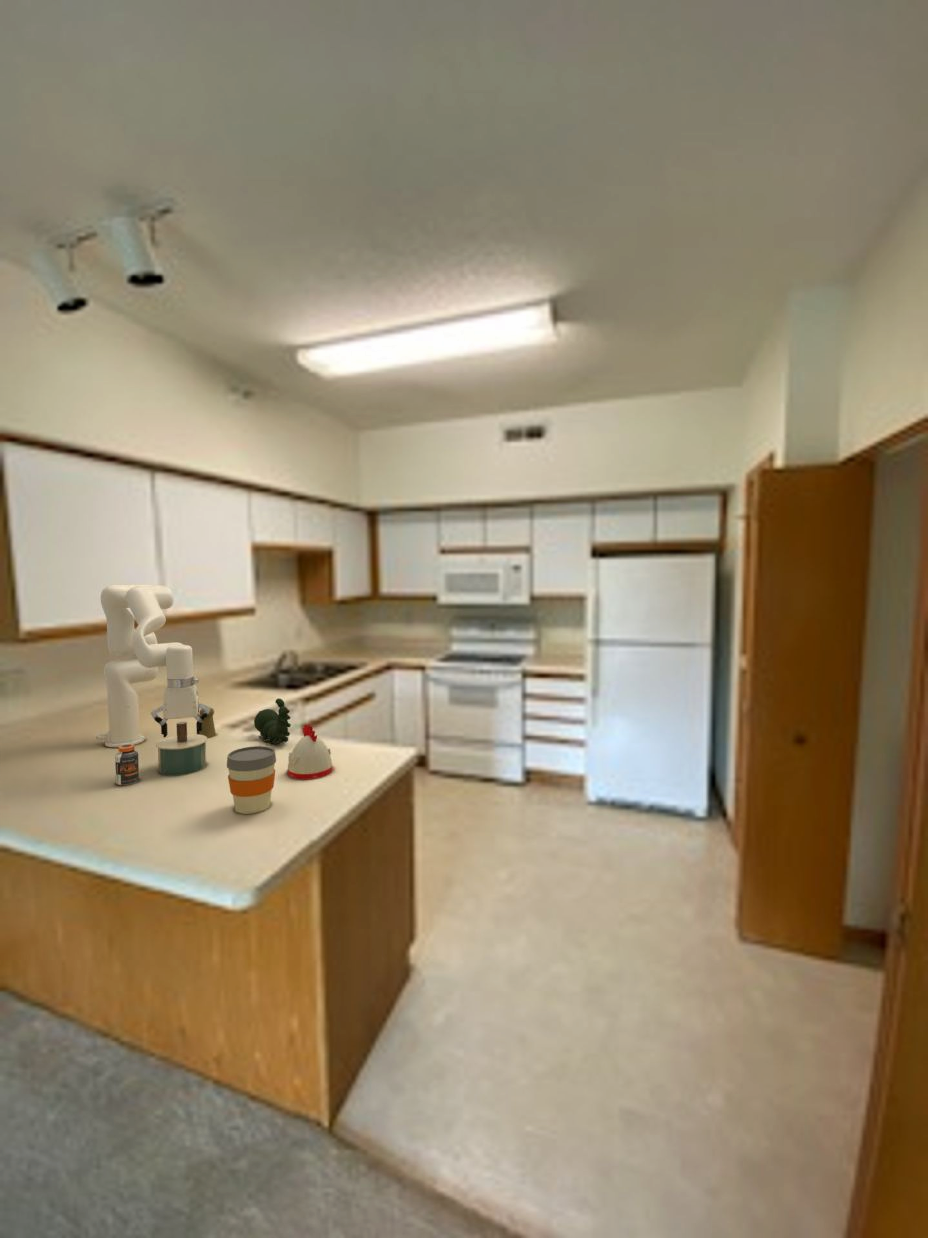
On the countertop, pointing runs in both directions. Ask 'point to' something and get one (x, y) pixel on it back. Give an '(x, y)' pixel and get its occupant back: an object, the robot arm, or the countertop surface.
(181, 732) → the lid
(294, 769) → the kitchen timer
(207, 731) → the cork
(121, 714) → the robot arm
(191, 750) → the tin
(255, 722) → the toy figurine
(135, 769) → the pill bottle
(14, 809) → the countertop surface
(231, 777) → the reusable coffee cup
